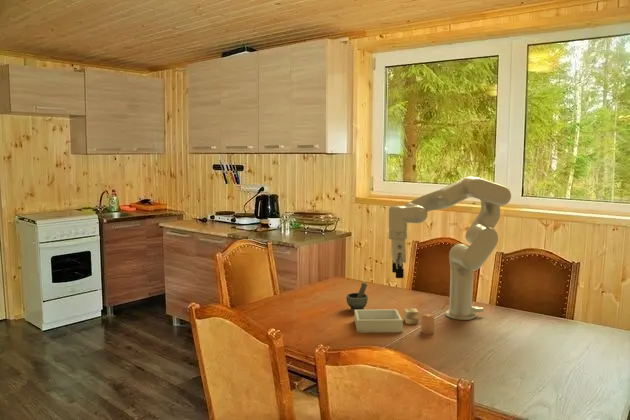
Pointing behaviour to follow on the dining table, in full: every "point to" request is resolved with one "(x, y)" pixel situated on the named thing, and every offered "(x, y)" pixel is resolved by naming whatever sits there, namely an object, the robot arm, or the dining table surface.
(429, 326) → the cylinder
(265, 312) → the dining table surface
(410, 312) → the cube
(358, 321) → the tote
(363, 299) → the mortar and pestle
